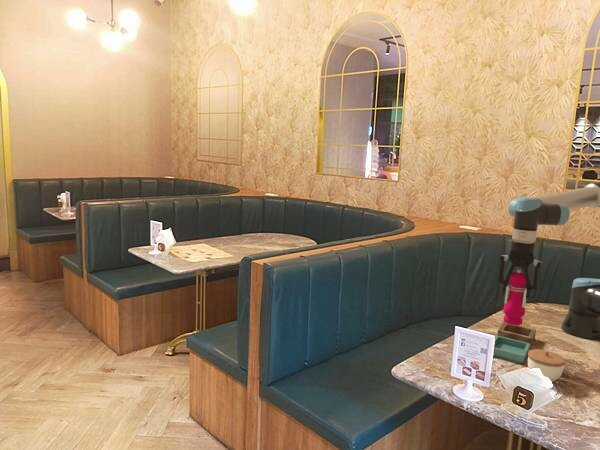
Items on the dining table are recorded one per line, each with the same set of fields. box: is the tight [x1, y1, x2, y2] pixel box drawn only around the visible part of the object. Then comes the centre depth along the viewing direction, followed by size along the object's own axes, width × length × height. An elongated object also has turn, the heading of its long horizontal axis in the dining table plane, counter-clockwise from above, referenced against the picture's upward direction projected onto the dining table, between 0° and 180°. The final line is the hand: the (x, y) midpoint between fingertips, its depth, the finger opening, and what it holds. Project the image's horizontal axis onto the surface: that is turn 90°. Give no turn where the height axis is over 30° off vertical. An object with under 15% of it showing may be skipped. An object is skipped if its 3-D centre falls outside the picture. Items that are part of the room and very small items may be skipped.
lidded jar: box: [527, 348, 566, 383], centre depth 152 cm, size 11×11×9 cm
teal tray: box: [493, 334, 531, 365], centre depth 171 cm, size 12×14×3 cm
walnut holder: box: [497, 321, 537, 350], centre depth 184 cm, size 12×12×4 cm
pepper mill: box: [502, 268, 526, 326], centre depth 168 cm, size 7×7×20 cm
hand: (514, 304), depth 169 cm, fingers closed on pepper mill, 5 cm apart
